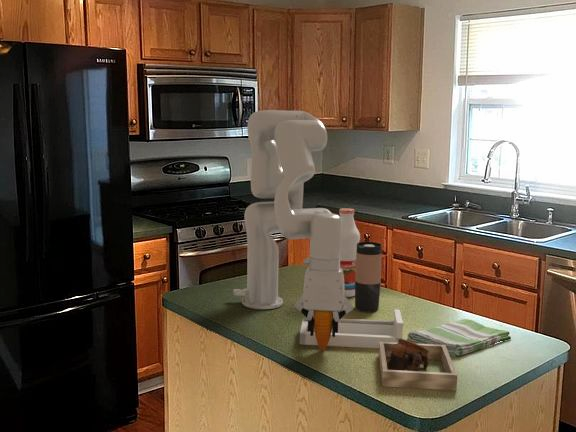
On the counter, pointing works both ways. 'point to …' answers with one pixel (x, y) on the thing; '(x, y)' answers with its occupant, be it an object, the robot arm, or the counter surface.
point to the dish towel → (460, 336)
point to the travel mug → (368, 276)
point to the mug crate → (417, 377)
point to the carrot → (323, 327)
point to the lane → (359, 332)
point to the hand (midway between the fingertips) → (322, 333)
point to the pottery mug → (414, 356)
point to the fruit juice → (348, 249)
